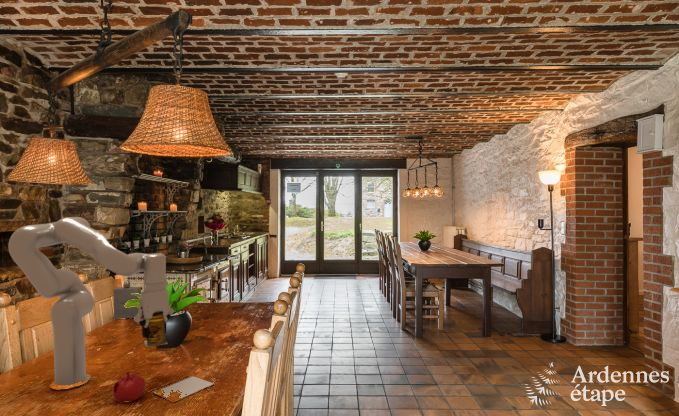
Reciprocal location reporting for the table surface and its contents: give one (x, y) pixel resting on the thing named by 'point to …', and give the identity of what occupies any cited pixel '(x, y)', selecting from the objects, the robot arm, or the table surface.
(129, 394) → the pomegranate
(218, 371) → the table surface
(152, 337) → the condiment
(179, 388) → the mat
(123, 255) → the robot arm
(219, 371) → the table surface
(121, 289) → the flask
